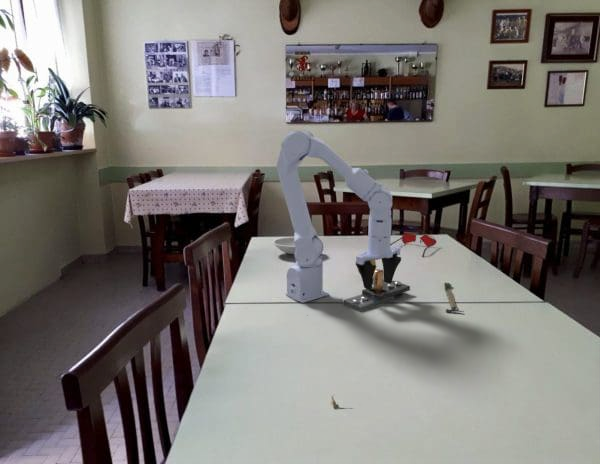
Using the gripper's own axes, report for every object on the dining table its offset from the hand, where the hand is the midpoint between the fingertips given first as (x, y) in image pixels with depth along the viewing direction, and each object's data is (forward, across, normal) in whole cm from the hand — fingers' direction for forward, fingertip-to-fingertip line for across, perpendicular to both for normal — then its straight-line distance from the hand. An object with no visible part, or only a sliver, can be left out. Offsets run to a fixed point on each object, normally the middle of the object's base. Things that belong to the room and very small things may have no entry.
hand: (377, 285), depth 119 cm
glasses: (+5, +47, +27) cm, 54 cm away
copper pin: (+4, 0, 0) cm, 4 cm away
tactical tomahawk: (+5, +16, -12) cm, 21 cm away
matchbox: (+4, -38, -28) cm, 48 cm away
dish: (+4, +9, +48) cm, 49 cm away
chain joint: (+4, 0, 0) cm, 4 cm away
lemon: (+4, +10, +14) cm, 18 cm away
